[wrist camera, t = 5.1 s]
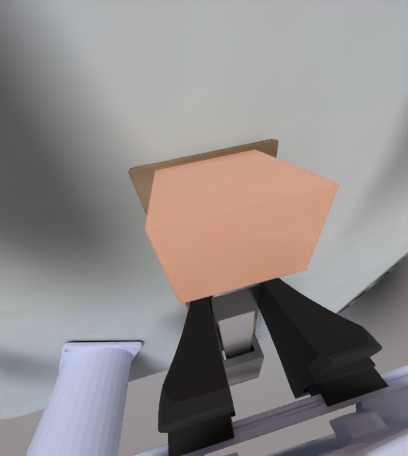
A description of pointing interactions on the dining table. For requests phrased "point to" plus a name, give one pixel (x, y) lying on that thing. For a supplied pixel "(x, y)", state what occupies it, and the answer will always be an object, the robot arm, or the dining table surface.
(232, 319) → the grey banded bar
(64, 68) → the dining table surface
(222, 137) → the dining table surface
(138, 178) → the brown wooden bar
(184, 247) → the peach-orange block
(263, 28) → the dining table surface
